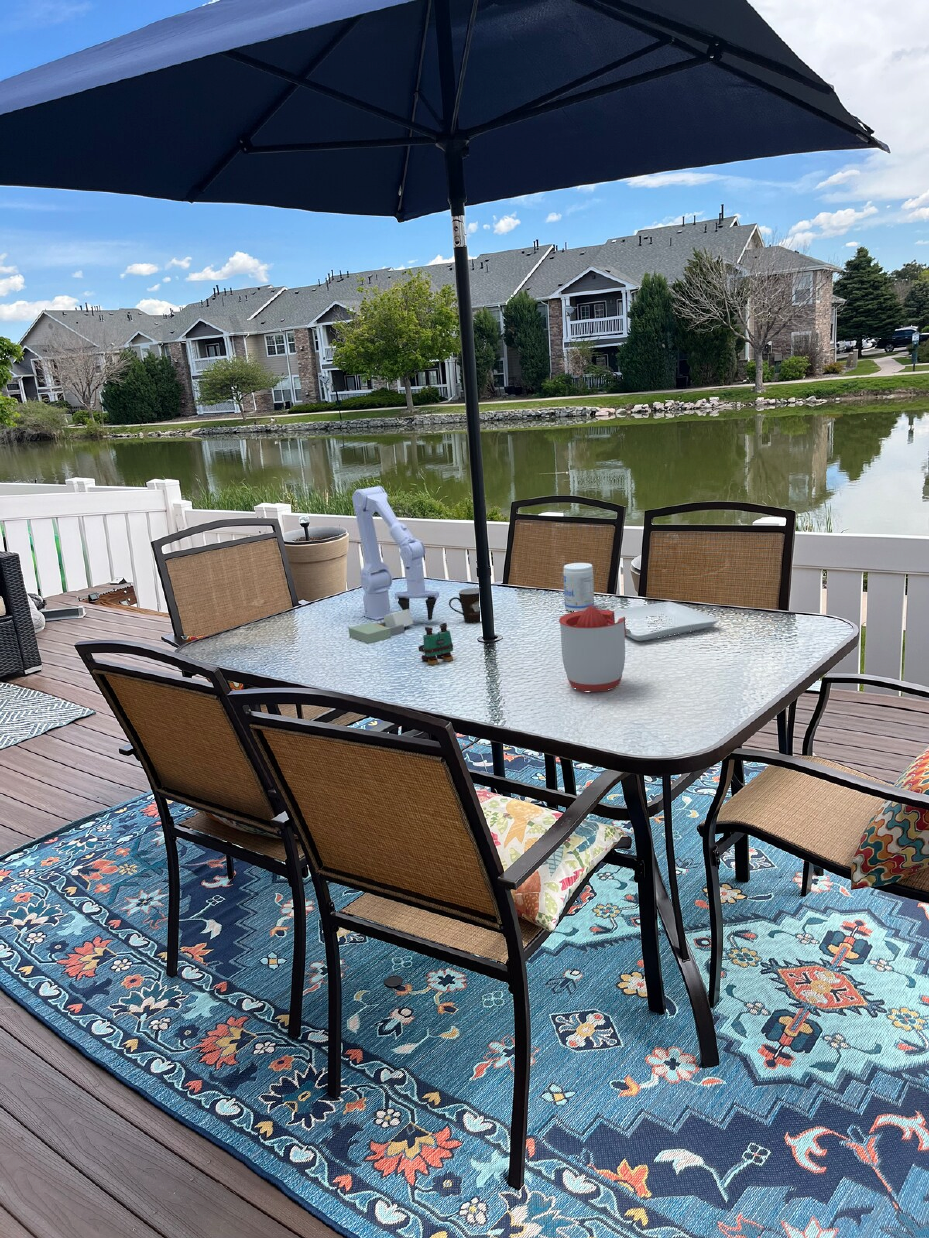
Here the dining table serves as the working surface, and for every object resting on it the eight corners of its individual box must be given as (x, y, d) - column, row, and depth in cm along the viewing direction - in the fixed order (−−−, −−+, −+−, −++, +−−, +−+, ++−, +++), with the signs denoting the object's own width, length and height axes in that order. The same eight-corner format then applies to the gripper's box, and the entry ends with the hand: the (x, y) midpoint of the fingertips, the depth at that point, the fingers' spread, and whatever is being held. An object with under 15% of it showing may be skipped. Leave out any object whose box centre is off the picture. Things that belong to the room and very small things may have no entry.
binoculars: (438, 619, 237) (453, 622, 228) (443, 655, 239) (458, 660, 230) (409, 625, 233) (424, 629, 225) (415, 661, 235) (429, 666, 226)
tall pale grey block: (387, 631, 267) (383, 616, 266) (403, 625, 271) (399, 610, 271) (396, 629, 263) (392, 613, 263) (413, 623, 268) (409, 608, 267)
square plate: (669, 611, 262) (669, 599, 261) (721, 631, 237) (721, 618, 236) (591, 625, 254) (591, 613, 253) (637, 647, 229) (636, 634, 228)
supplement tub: (559, 610, 274) (556, 566, 270) (579, 604, 279) (577, 561, 275) (579, 614, 266) (577, 569, 262) (600, 608, 272) (598, 564, 268)
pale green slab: (349, 636, 264) (348, 627, 263) (387, 627, 272) (386, 617, 271) (368, 643, 254) (367, 633, 253) (407, 633, 262) (406, 623, 261)
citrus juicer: (646, 688, 197) (643, 606, 192) (578, 700, 193) (574, 617, 188) (616, 669, 212) (613, 593, 207) (552, 681, 207) (548, 603, 202)
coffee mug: (488, 616, 274) (486, 587, 271) (486, 623, 265) (484, 593, 263) (453, 618, 275) (450, 589, 272) (450, 625, 267) (447, 595, 264)
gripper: (440, 575, 270) (444, 616, 273) (398, 576, 274) (402, 616, 277) (433, 580, 263) (437, 622, 267) (390, 581, 267) (395, 622, 271)
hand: (419, 619), depth 272 cm, fingers open, 7 cm apart
